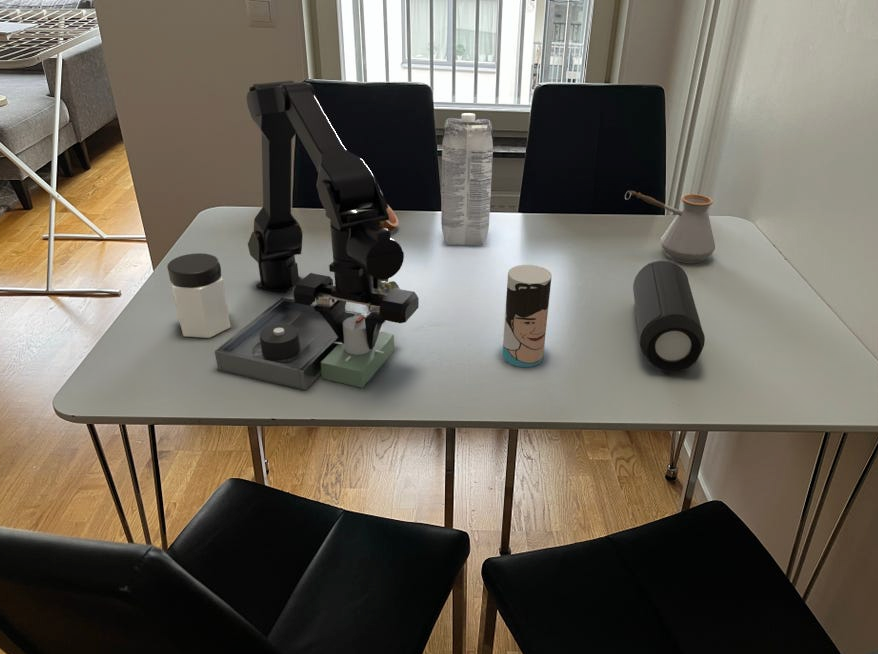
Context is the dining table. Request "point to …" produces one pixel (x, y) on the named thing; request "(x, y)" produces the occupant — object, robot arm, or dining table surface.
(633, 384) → the dining table surface
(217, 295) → the jar
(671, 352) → the portable speaker
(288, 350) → the stopper
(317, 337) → the sink
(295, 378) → the grey metal tray
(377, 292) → the tape measure
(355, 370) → the panel
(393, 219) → the fruit slice
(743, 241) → the dining table surface
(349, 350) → the tap knob
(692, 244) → the coffee pot
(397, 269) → the robot arm
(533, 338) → the cup
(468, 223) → the juice carton
